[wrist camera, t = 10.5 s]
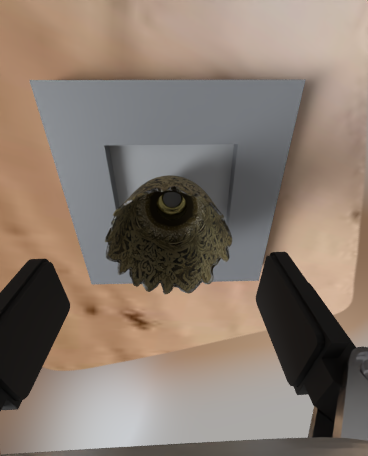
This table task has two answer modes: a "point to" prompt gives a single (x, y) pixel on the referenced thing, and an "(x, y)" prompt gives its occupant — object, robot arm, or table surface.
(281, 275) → the robot arm
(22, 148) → the table surface
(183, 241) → the cup
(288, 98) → the display stand
